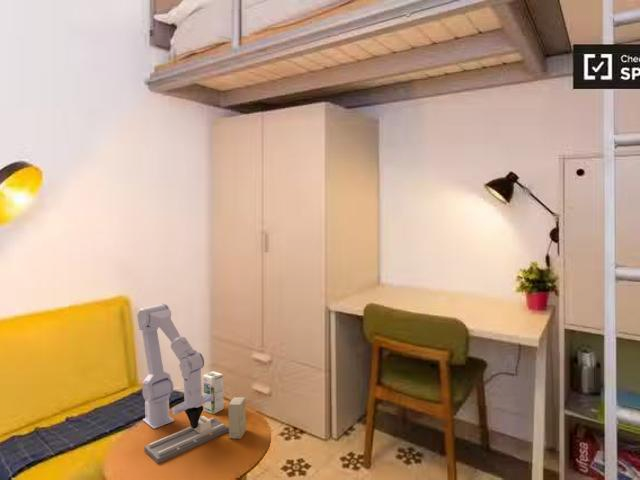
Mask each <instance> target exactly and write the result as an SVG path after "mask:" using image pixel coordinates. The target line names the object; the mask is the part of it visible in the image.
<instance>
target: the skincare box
mask: <svg viewBox="0 0 640 480" xmlns="http://www.w3.org/2000/svg"><path fill="white" fill-rule="evenodd" d="M227 406H228V407H227V409H228V410H227V411H228V427H229V431H228V437H229V439H238V440H239V439H242V438H243V436H244V434H246V433H245V432H246V431H247V415H246V411H247V410H246V397H243V396H242V397H241V396H234V397H233V398H232V399H231V400H230V401H229V402H228V404H227Z"/></svg>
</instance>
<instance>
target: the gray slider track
mask: <svg viewBox="0 0 640 480" xmlns="http://www.w3.org/2000/svg"><path fill="white" fill-rule="evenodd" d="M209 419H210V420H211V429H209V430H207V431H204V432H202V433H198V432H197V431H195V430H194V429H193V428H192V427H191V426H188V427H187V428H183V429H181V430H180V431H177V432H174V433H172V434H170V435H167V436H165V437H162V438H160V439H157V440H155V441H153V442H151V443H149V444H148V445H145V446H144V448H143V449H144V452H145V453H146V454H147V455H148V456H149V457H150V458H152V460H154V461H155V462H156V464H160V463H163V462H165V461H167V460H169V459H172V458H174V457H176V456H178V455H180V454H182V453H184V452H186V450H187V451H189V450H190V449H193V448H195V447H197V446H200V445H202V444H204V443H206V442H209V441H211V440H212V439H215V438H217V437H219V436H222V435H223V434H225V433H226V434H227V433H229V425H226V424H225V423H223V422H222V421H220V420H218V419H217V418H215V417H214V416H213V417H211V418H209ZM188 449H189V450H188Z"/></svg>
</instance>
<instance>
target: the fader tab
mask: <svg viewBox="0 0 640 480" xmlns="http://www.w3.org/2000/svg"><path fill="white" fill-rule="evenodd" d="M209 429H211V420H210V418H208V417H206V416H205V415H200V418H199V421H198V426H197V428H195V429H194V430H195V431H197V432H198V433H202V432H204V431H207V430H209Z"/></svg>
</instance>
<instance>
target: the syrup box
mask: <svg viewBox="0 0 640 480" xmlns="http://www.w3.org/2000/svg"><path fill="white" fill-rule="evenodd" d="M202 383H203V384H202V387H203V389H202V391H203V392H202V393H203V396H204V395H208V394H212V395H213V401H208V402H206V403H203V412H207V413H209V414H212V415H215V414H217V413H218V412H220V411H223V410H224V406H225V405H224V402H225V401H224V374H223V373H220V372H217V371H214V370H213V371H209V372H207V373H205V374H203V376H202Z"/></svg>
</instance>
